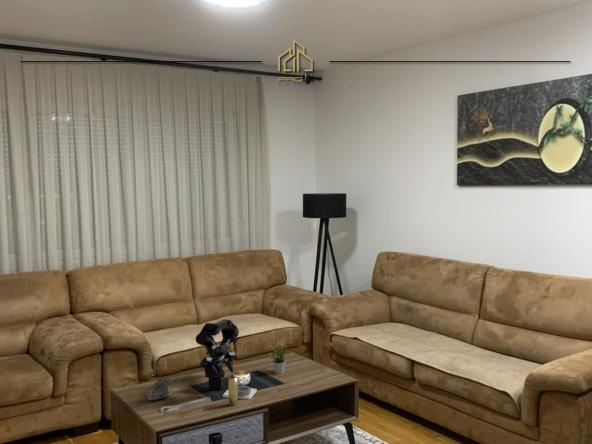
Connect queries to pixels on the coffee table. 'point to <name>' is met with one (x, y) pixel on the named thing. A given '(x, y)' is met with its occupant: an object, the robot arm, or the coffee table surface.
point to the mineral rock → (160, 389)
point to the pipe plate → (243, 392)
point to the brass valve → (233, 390)
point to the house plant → (278, 359)
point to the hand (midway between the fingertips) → (225, 374)
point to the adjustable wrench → (183, 405)
